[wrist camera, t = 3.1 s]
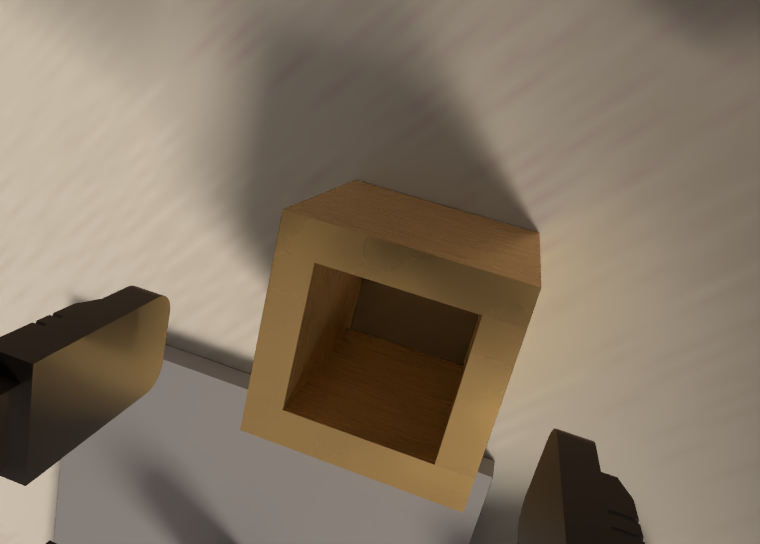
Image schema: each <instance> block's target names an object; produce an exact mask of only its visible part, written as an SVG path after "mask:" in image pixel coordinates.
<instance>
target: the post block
mask: <svg viewBox="0 0 760 544" xmlns="http://www.w3.org/2000/svg"><path fill="white" fill-rule="evenodd" d="M250 377H251V375H250V374H247V373H245V372H242V371H239V370H236V369H233V368H230V367H228V366H225V365H222V364H219V363H216V362H213V361H211V360H208V359H205V358H202V357H199V356H197V355H194V354H191V353H188V352H185V351H182V350H180V349H177V348H174V347H171V346H168V345H165V349H164V356H163V363H162V368H161V371H160V374H159V376H158V378H157V380H156V382H155V384H154V385H153V387H152V388H151V389H150V390H149V392H147V393H146V394H145V395H144V396H142V397H141V398H140V399H138V400H137V401H136V402H135V403H133V404H132V405H131V406H129V407H128V408H127V409H125V410H124V411H123V412H122V413H120V414H119V415H118V416H116V417H115V418H114V419H112V420H111V421H110V422H108V423H107V424H106V425H105V426H103V427H102V428H101V429H99V430H98V431H97V432H95V433H94V434H93V435H92V436H90V437H89V438H88V439H86V440H85V441H84V442H82V443H81V444H80V445H78V446H77V447H76V448H75V449H73V450H72V451H71V452H69V453H68V454H67V455H65V456H64V457H63V458H62V459H61V463H60V474H59V486H58V497H57V508H56V520H55V531H54V543H57V544H469V543H470V540H471V537H472V534H473V531H474V529H475V526H476V523H477V520H478V517H479V515H480V512H481V509H482V506H483V503H484V501H485V498H486V495H487V492H488V489H489V487H490V484H491V481H492V478H493V471H494V462H495V461H493V460H491V459H488V458H485V457H482V460H481V463H480V466H479V469H478V472H477V475H476V477H475V480H474V483H473V486H472V489H471V492H470V495H469V498H468V501H467V503H466V506H465V509H464V512H463V513H462V512H460V511H457V510H454V509H451V508H449V507H446V506H443V505H441V504H438V503H435V502H433V501H430V500H427V499H424V498H422V497H419V496H416V495H414V494H411V493H408V492H406V491H403V490H400V489H398V488H395V487H392V486H389V485H387V484H384V483H381V482H379V481H376V480H373V479H371V478H368V477H365V476H362V475H360V474H357V473H354V472H352V471H349V470H346V469H344V468H341V467H338V466H336V465H333V464H330V463H327V462H325V461H322V460H319V459H317V458H314V457H311V456H309V455H306V454H303V453H300V452H298V451H295V450H292V449H290V448H287V447H284V446H282V445H279V444H276V443H273V442H271V441H268V440H265V439H263V438H260V437H257V436H255V435H252V434H249V433H247V432H244V431H241V430H240V428H241V423H242V418H243V413H244V407H245V402H246V397H247V392H248V387H249V382H250Z"/></svg>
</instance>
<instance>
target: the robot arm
mask: <svg viewBox="0 0 760 544" xmlns="http://www.w3.org/2000/svg"><path fill="white" fill-rule="evenodd" d="M169 314H170V302H169V299H168V298H167V297H166V296H163V295H160V294H157V293H154V292H151V291H148V290H145V289H142V288H139V287H136V286H129V287H126V288H124V289H122V290H120V291H118V292H116V293H114V294H111V295H109V296H107V297H105V298H103V299H98V300H93V301H88V302H82V303H77V304H73V305H71V306H68V307H66V308H64V309H62V310H59V311H57V312H55V313H54V314H53V316H51V315H48V316H46V317H44V318H42V319H39V320H37V322H36V323H30V324H28V325H26V326H24V327H22V328H19V329H17V330H15V331H13V332H10V333H8V334H6V335H4V336H1V337H0V476H2V477H5V478H7V479H9V480H12V481H14V482H17V483H19V484H22V485H24V486H26V485H28V484H29V483H30V482H32V481H33V480H34V479H35V478H37V477H38V476H39V475H41V474H42V473H43V472H45V471H46V470H47V469H48V468H50V467H51V466H52V465H54V464H55V463H56V462H58V461H59V460H60V459H62V458H63V457H64V456H65V455H67V454H68V453H69V452H71V451H72V450H73V449H75V448H76V447H77V446H78V445H80V444H81V443H82V442H84V441H85V440H86V439H88V438H89V437H90V436H92V435H93V434H94V433H95V432H97V431H98V430H99V429H101V428H102V427H103V426H105V425H106V424H107V423H108V422H110V421H111V420H112V419H114V418H115V417H116V416H118V415H119V414H120V413H122V412H123V411H124V410H125V409H127V408H128V407H129V406H131V405H132V404H133V403H135V402H136V401H137V400H138V399H140V398H141V397H142V396H144V395H145V394H146V393H147V392H149V390H150V389H151V388H152V387H153V385H154V384H155V382H156V380H157V378H158V376H159V374H160V371H161V368H162V363H163V356H164V349H165V342H166V335H167V328H168V321H169ZM638 521H639V519H638V515H637V511H636V507H635V503H634V500H633V498H632V497H631V495H630V494H629V493H628V491H627V490H626V489H625V487H624V486H623V485H622V483H621V482H620V481H619V479H618V478H617V477H614V476H611V475H608V474H605V473H602V472H601V470H600V465H599V460H598V455H597V449H596V445H595V442H594V441H591V440H588V439H585V438H582V437H579V436H576V435H573V434H570V433H567V432H564V431H561V430H558V429H553V430H552V432H551V434H550V436H549V438H548V440H547V443H546V445H545V448H544V450H543V453H542V455H541V458H540V461H539V463H538V466H537V468H536V471H535V473H534V476H533V479H532V481H531V484H530V486H529V489H528V491H527V494H526V497H525V500H524V503H523V507H522V510H521V515H520V520H519V527H518V544H645V542H643V534H642V530H641V526H640V524H638ZM46 544H57V543H54V542H52V541H48V542H47V543H46Z"/></svg>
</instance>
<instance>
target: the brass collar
mask: <svg viewBox="0 0 760 544" xmlns="http://www.w3.org/2000/svg"><path fill="white" fill-rule="evenodd" d="M363 278H365V279H368V280H371V281H374V282H378V283H381V284H384V285H387V286H390V287H393V288H397V289H400V290H403V291H406V292H409V293H413V294H416V295H419V296H422V297H425V298H428V299H432V300H435V301H438V302H441V303H444V304H447V305H451V306H454V307H457V308H460V309H463V310H466V311H470V312H473V313H476V314H479V316H478V319H477V322H476V325H475V328H474V332H473V335H472V338H471V341H470V344H469V347H468V351H467V354H466V357H465V360H464V363H463V366H462V365H459V364H456V363H453V362H450V361H446V360H443V359H440V358H437V357H434V356H431V355H428V354H425V353H422V352H419V351H416V350H413V349H410V348H407V347H404V346H401V345H398V344H395V343H392V342H389V341H386V340H383V339H380V338H377V337H374V336H371V335H368V334H365V333H362V332H359V331H356V330H353V329H351V325H352V321H353V317H354V313H355V309H356V304H357V300H358V296H359V292H360V288H361V284H362V280H363ZM540 290H541V263H540V233H537V232H534V231H531V230H527V229H524V228H520V227H517V226H513V225H510V224H506V223H503V222H499V221H496V220H492V219H489V218H485V217H482V216H478V215H475V214H471V213H468V212H465V211H461V210H458V209H454V208H451V207H447V206H444V205H440V204H437V203H433V202H430V201H426V200H423V199H419V198H416V197H412V196H409V195H406V194H402V193H399V192H395V191H392V190H388V189H385V188H381V187H378V186H374V185H371V184H367V183H364V182H360V181H357V180H355V181H352V182H350V183H347V184H345V185H342V186H340V187H337V188H335V189H332V190H330V191H327V192H325V193H322V194H320V195H318V196H315V197H313V198H310V199H308V200H305V201H303V202H300V203H298V204H295V205H293V206H290V207H288V208H285V209H283V212H282V217H281V222H280V227H279V233H278V238H277V243H276V248H275V253H274V258H273V263H272V269H271V274H270V279H269V284H268V289H267V294H266V299H265V305H264V310H263V315H262V320H261V325H260V330H259V335H258V341H257V346H256V351H255V356H254V361H253V366H252V371H251V377H250V382H249V387H248V392H247V397H246V402H245V407H244V413H243V418H242V423H241V428H240V430H241V431H244V432H247V433H249V434H252V435H255V436H257V437H260V438H263V439H265V440H268V441H271V442H273V443H276V444H279V445H282V446H284V447H287V448H290V449H292V450H295V451H298V452H300V453H303V454H306V455H309V456H311V457H314V458H317V459H319V460H322V461H325V462H327V463H330V464H333V465H336V466H338V467H341V468H344V469H346V470H349V471H352V472H354V473H357V474H360V475H362V476H365V477H368V478H371V479H373V480H376V481H379V482H381V483H384V484H387V485H389V486H392V487H395V488H398V489H400V490H403V491H406V492H408V493H411V494H414V495H416V496H419V497H422V498H424V499H427V500H430V501H433V502H435V503H438V504H441V505H443V506H446V507H449V508H451V509H454V510H457V511H460V512H462V513H463V512H464V509H465V506H466V503H467V501H468V498H469V495H470V492H471V489H472V486H473V483H474V480H475V477H476V475H477V472H478V469H479V466H480V463H481V460H482V457H483V454H484V451H485V449H486V446H487V443H488V440H489V437H490V434H491V431H492V428H493V426H494V423H495V420H496V417H497V414H498V411H499V408H500V405H501V402H502V400H503V397H504V394H505V391H506V388H507V385H508V382H509V379H510V376H511V374H512V371H513V368H514V365H515V362H516V359H517V356H518V353H519V350H520V348H521V345H522V342H523V339H524V336H525V333H526V330H527V327H528V324H529V322H530V319H531V316H532V313H533V310H534V307H535V304H536V301H537V298H538V296H539V293H540Z"/></svg>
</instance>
